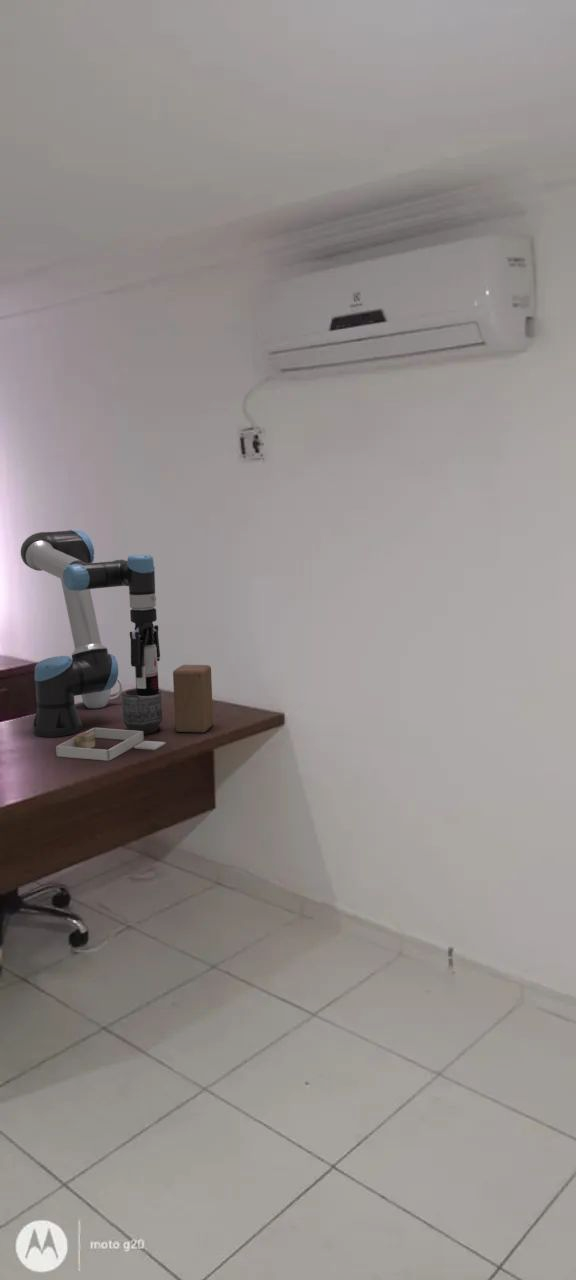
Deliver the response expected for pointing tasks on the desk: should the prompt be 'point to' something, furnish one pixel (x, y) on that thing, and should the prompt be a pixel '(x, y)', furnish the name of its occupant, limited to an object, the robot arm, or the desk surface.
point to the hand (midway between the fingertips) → (147, 685)
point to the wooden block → (193, 698)
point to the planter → (141, 711)
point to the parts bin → (99, 754)
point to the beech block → (85, 740)
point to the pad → (150, 745)
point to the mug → (99, 697)
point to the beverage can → (149, 673)
